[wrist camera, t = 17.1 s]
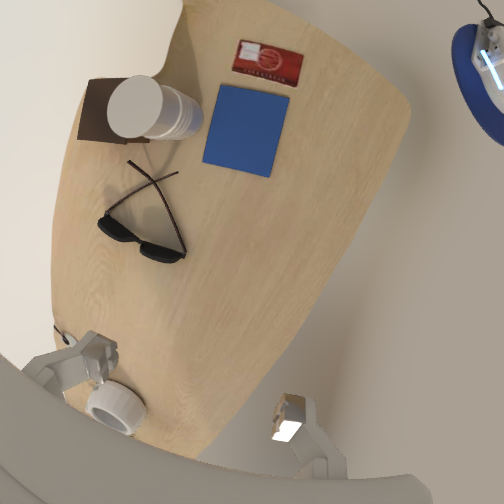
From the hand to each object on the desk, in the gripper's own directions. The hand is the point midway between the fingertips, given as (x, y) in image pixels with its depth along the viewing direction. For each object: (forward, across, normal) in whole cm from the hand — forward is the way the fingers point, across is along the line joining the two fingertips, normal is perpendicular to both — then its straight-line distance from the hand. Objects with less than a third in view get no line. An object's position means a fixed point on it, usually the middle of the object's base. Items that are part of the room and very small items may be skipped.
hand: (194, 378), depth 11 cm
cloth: (+31, +5, -12) cm, 34 cm away
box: (+31, +24, -12) cm, 41 cm away
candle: (+31, +14, -12) cm, 36 cm away
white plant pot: (+31, +27, +60) cm, 73 cm away
